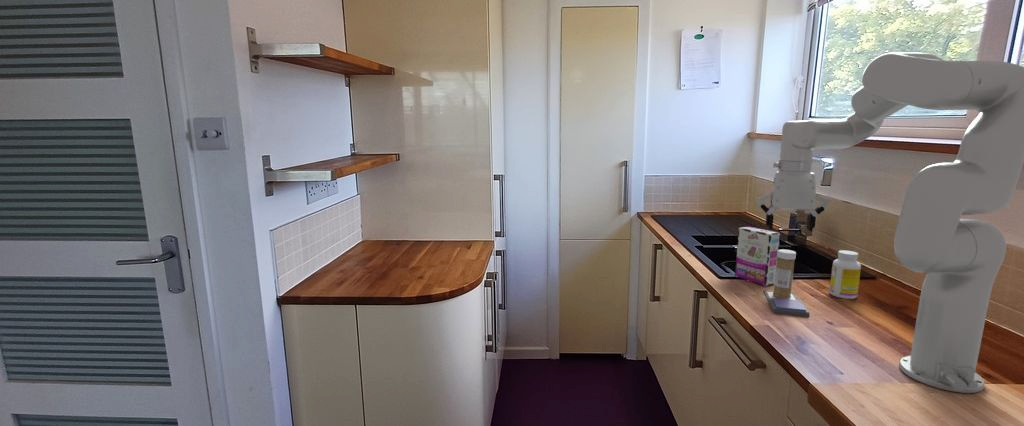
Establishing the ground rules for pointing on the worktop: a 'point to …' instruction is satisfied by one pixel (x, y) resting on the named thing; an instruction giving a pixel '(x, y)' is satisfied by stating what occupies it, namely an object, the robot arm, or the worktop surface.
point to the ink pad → (788, 307)
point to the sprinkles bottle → (784, 273)
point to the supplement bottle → (845, 275)
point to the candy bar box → (757, 255)
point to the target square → (770, 295)
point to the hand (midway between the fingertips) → (789, 229)
